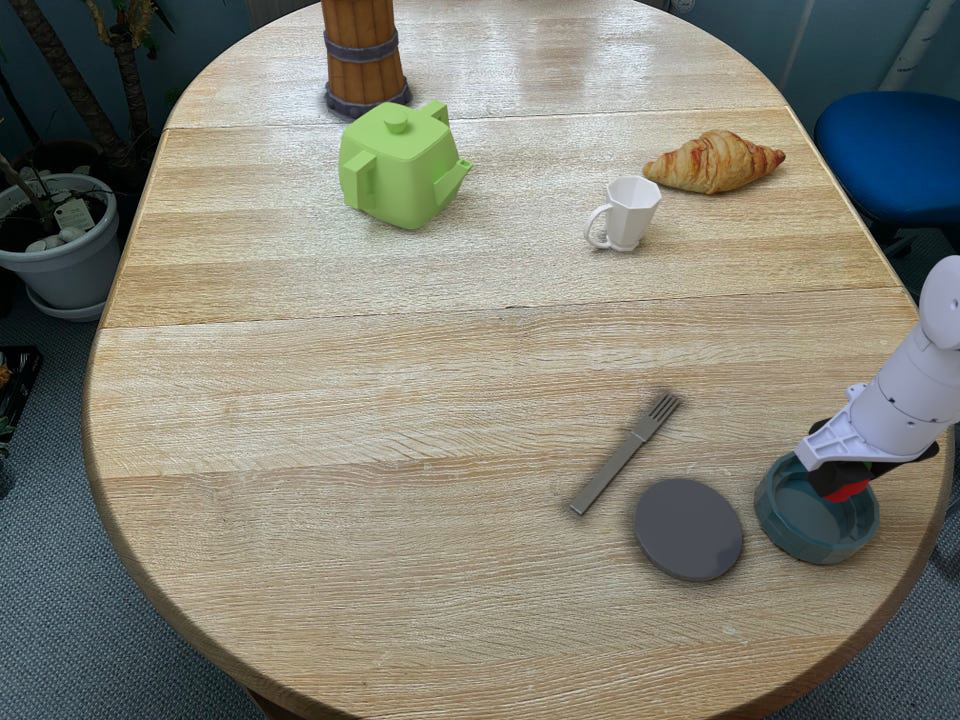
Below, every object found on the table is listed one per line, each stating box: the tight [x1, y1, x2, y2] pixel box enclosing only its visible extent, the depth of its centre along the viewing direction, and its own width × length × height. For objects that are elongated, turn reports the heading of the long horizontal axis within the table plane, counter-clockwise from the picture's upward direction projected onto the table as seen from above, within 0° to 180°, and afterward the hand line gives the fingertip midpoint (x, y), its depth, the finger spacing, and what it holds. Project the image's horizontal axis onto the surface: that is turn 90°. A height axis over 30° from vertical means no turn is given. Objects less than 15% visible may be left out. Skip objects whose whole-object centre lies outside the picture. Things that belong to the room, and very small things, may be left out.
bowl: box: [753, 450, 881, 565], centre depth 64 cm, size 10×10×4 cm
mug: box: [320, 0, 414, 123], centre depth 103 cm, size 19×14×20 cm
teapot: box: [337, 98, 474, 230], centre depth 88 cm, size 18×20×13 cm
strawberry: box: [823, 461, 872, 502], centre depth 59 cm, size 4×4×5 cm
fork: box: [569, 391, 681, 517], centre depth 69 cm, size 18×2×1 cm, turn 139°
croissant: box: [641, 128, 787, 195], centre depth 96 cm, size 21×10×8 cm, turn 100°
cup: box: [582, 174, 663, 252], centre depth 86 cm, size 7×10×8 cm
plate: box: [632, 477, 743, 583], centre depth 64 cm, size 10×10×1 cm
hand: (837, 480), depth 59 cm, fingers closed on strawberry, 4 cm apart
